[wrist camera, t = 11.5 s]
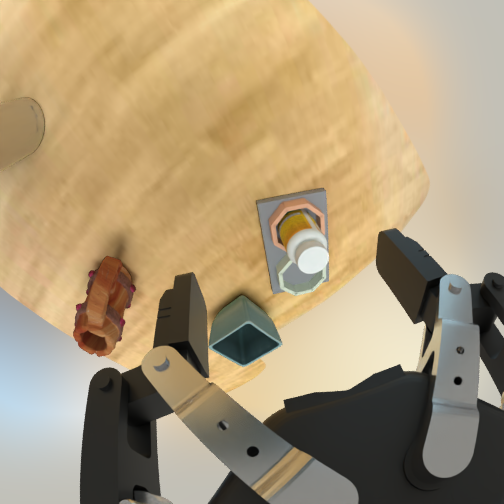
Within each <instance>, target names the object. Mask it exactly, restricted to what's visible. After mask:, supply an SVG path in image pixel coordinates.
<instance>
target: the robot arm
mask: <svg viewBox="0 0 504 504" xmlns="http://www.w3.org/2000/svg"><path fill="white" fill-rule="evenodd" d="M43 134H44V116H43V113H42V110H41V108H40V106H39V105H38V104H37V103H36V102H35V101H34V100H32V99H30V98H19V99H15V100H11V101H6V102H3V103H0V172H2V171H4V170H5V169H7V168H8V167H10V166H12V165H13V164H15V163H17V162H18V161H20V160H22V159H23V158H25V157H27V156H28V155H30V154H32V153H33V152H34V151H35V150H36V149H37V148H38V146H39V145H40V142H41V140H42V137H43ZM376 266H377V270H378V272H379V274H380V275H381V277H382V278H383V279H384V281H385V282H386V284H387V285H388V286H389V287H390V289H391V291H392V292H393V293H394V295H395V296H396V298H397V299H398V301H399V302H400V304H401V305H402V307H403V308H404V310H405V311H406V313H407V314H408V316H409V317H410V319H411V320H412V322H413V323H414V324H417V323H419V322H422V321H424V322H425V327H424V331H423V338H422V345H421V351H420V357H419V363H418V366H417V369H416V372H415V371H403V370H402V368H401V366H400V364H399V365H397V366H394V367H392V368H389V369H386V370H384V371H381V372H378V373H375V374H373V375H372V376H370V377H369V378H367V379H366V380H364V381H363V382H361V383H359V384H358V385H356V386H354V387H353V388H351V389H349V390H346V391H335V392H314V393H310V394H307V395H303V396H298V397H295V398H290V399H286V400H284V404H285V408H283V409H281V410H279V411H277V412H276V413H274V414H272V415H271V416H270V417H268V418H267V419H266V420H265V421H264V422H263V423H261V422H260V421H259V420H257V419H256V418H255V417H254V416H252V415H251V414H250V413H249V412H248V411H246V410H245V409H244V408H243V407H241V406H240V405H239V404H238V403H237V402H236V401H234V400H233V399H232V398H231V397H230V396H229V395H228V394H226V393H225V392H224V391H223V390H222V389H221V388H220V387H218V386H217V385H216V384H214V383H209V382H208V381H207V380H206V379H205V378H209V365H208V338H207V310H206V305H205V301H204V298H203V295H202V293H201V290H200V287H199V285H198V282H197V279H196V277H195V274H194V273H193V272H191V273H186V274H182V275H177V276H175V280H174V288H173V289H170V290H166V291H165V293H164V294H163V296H162V297H161V299H160V303H159V309H158V310H159V311H158V316H157V318H158V319H157V322H156V329H155V336H154V344H153V349H152V350H150V351H149V352H148V353H147V354H146V355H145V357H144V358H143V360H142V365H140V366H138V367H136V368H134V369H132V370H129V371H127V372H124V373H122V374H121V373H120V372H119V371H118V370H116V369H114V368H104V369H102V370H100V371H98V372H97V373H96V374H95V375H94V376H93V378H92V380H91V382H90V385H89V392H88V398H87V405H86V413H85V421H84V430H83V440H82V453H81V473H80V504H173V503H172V502H171V501H169V500H168V499H166V498H163V497H161V494H160V484H159V470H158V454H157V431H156V430H157V429H156V419H158V418H161V417H163V416H166V415H168V414H171V413H173V412H175V413H176V415H177V416H178V417H179V418H180V419H181V420H182V422H183V423H184V424H185V425H186V426H187V427H188V428H189V429H190V430H191V431H192V432H193V433H194V434H195V436H196V437H197V438H198V439H199V440H200V441H201V442H202V443H203V444H204V445H205V446H206V447H207V448H208V449H209V450H210V451H211V452H212V453H213V454H214V455H215V456H216V457H217V458H218V459H219V460H220V461H221V462H222V463H224V464H225V465H226V466H227V467H228V468H229V469H230V470H231V471H230V472H229V474H228V475H227V477H226V478H225V480H224V481H223V483H222V484H221V486H220V487H219V489H218V490H217V491H216V493H215V494H214V496H213V497H212V499H211V500H210V501H209V503H208V504H504V338H503V336H502V335H501V333H500V332H499V330H498V329H497V327H496V326H495V324H494V322H495V320H496V318H497V316H498V318H499V319H500V321H501V322H502V324H503V325H504V277H503V276H502V275H500V274H498V273H493V272H492V273H488V274H486V275H485V277H484V280H483V282H482V283H479V284H469V283H468V282H467V281H466V280H465V279H464V278H462V277H461V276H458V275H454V274H449V275H448V274H447V273H446V272H445V271H444V270H443V269H442V268H441V267H440V265H439V264H438V263H437V262H436V261H435V260H434V259H433V258H432V257H431V256H429V254H428V253H427V252H426V251H425V250H424V249H423V248H422V247H421V246H420V245H419V244H418V243H417V242H416V241H414V240H412V239H410V238H409V237H404V235H402V233H401V232H400V231H399V230H397V229H396V228H393V229H389V230H385V231H381V232H379V235H378V244H377V255H376ZM480 357H481V359H482V361H483V362H484V364H485V366H486V368H487V369H488V371H489V373H490V375H491V377H492V379H493V381H494V383H495V385H496V386H497V389H498V391H499V392H500V394H501V404H502V405H501V406H500V408H498V407H496V406H494V405H491V404H489V403H487V402H485V401H483V400H480V399H478V398H477V395H478V383H479V362H480Z"/></svg>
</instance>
